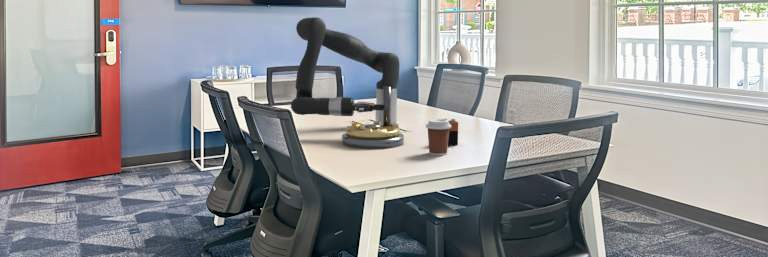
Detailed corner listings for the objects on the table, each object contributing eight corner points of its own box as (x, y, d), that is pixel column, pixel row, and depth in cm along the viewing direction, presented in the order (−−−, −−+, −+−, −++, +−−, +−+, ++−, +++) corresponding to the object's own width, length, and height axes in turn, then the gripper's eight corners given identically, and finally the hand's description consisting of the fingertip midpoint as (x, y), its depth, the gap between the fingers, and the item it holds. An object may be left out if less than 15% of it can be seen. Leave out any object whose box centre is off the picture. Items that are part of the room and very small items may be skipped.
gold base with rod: (361, 128, 263) (361, 85, 260) (408, 132, 254) (408, 87, 251) (336, 136, 244) (335, 89, 241) (386, 141, 236) (386, 92, 233)
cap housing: (331, 141, 253) (331, 133, 253) (382, 135, 266) (382, 128, 266) (362, 151, 233) (362, 143, 233) (415, 144, 246) (415, 137, 246)
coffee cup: (449, 151, 234) (449, 118, 232) (452, 156, 225) (453, 122, 223) (424, 151, 234) (424, 118, 232) (426, 156, 225) (427, 122, 223)
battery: (438, 143, 249) (438, 118, 247) (455, 143, 250) (455, 118, 248) (440, 145, 245) (441, 119, 243) (458, 145, 245) (458, 119, 244)
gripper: (338, 99, 251) (382, 100, 249) (344, 95, 263) (386, 96, 262) (338, 118, 252) (382, 119, 250) (344, 113, 265) (386, 114, 263)
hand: (384, 107), depth 256 cm, fingers closed
